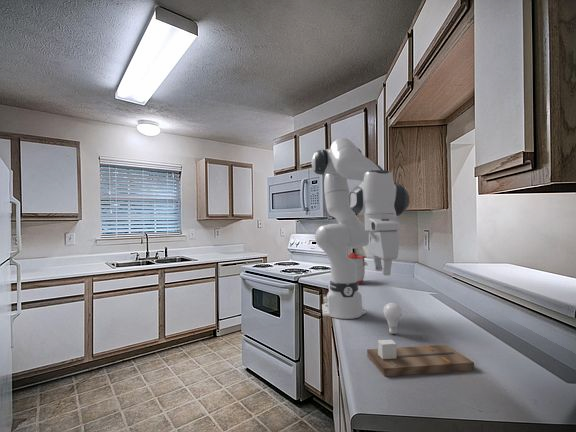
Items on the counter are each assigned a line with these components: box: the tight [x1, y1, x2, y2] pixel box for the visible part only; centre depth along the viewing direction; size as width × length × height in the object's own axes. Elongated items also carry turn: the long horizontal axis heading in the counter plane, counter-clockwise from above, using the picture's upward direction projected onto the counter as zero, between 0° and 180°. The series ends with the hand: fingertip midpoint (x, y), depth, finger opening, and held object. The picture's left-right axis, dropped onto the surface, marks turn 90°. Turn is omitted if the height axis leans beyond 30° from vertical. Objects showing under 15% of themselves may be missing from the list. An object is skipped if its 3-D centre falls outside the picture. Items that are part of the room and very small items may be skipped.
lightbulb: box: [382, 301, 403, 335], centre depth 109 cm, size 6×6×11 cm
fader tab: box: [377, 339, 397, 359], centre depth 86 cm, size 4×3×4 cm
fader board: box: [366, 344, 475, 377], centre depth 87 cm, size 25×12×2 cm, turn 96°
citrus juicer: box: [347, 252, 368, 285], centre depth 199 cm, size 16×17×20 cm
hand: (382, 272), depth 88 cm, fingers open, 8 cm apart
